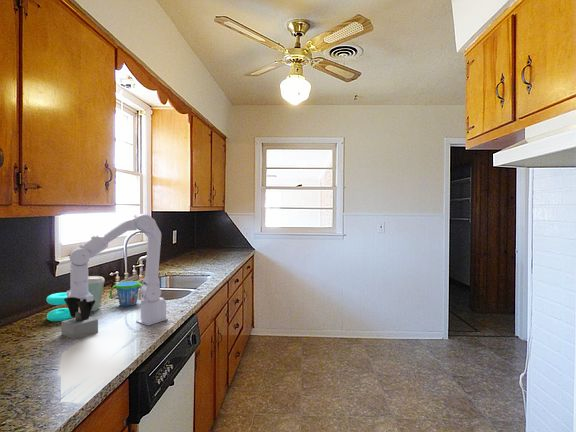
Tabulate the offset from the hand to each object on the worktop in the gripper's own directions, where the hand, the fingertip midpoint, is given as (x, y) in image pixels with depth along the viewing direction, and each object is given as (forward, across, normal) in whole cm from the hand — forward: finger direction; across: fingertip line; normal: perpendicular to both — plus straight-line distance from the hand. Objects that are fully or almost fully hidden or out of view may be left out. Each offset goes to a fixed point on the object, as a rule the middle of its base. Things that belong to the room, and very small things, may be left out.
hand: (79, 317), depth 131 cm
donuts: (+6, -24, +5) cm, 25 cm away
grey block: (+6, 0, 0) cm, 6 cm away
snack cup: (+6, -20, +33) cm, 39 cm away
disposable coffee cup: (+6, -26, +19) cm, 33 cm away
